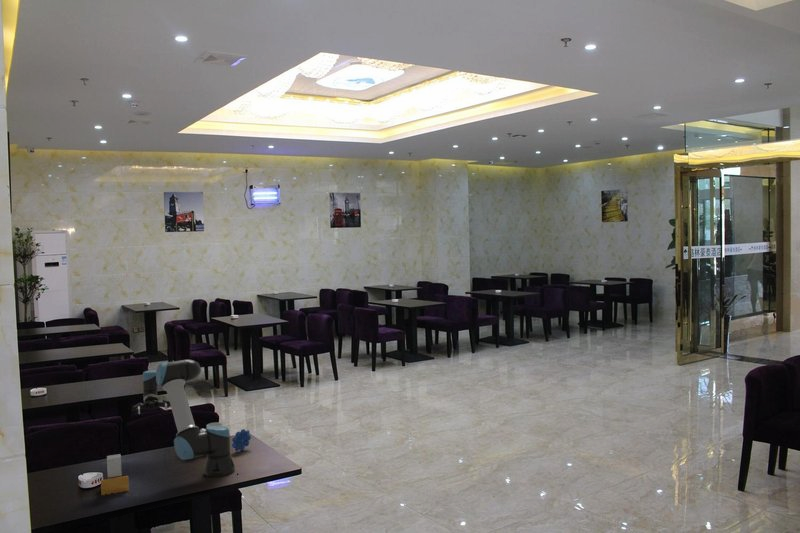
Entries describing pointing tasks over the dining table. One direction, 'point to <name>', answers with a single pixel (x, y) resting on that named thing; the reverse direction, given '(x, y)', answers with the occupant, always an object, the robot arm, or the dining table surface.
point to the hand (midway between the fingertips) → (152, 409)
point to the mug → (214, 424)
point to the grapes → (241, 440)
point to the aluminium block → (114, 466)
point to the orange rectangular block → (114, 485)
